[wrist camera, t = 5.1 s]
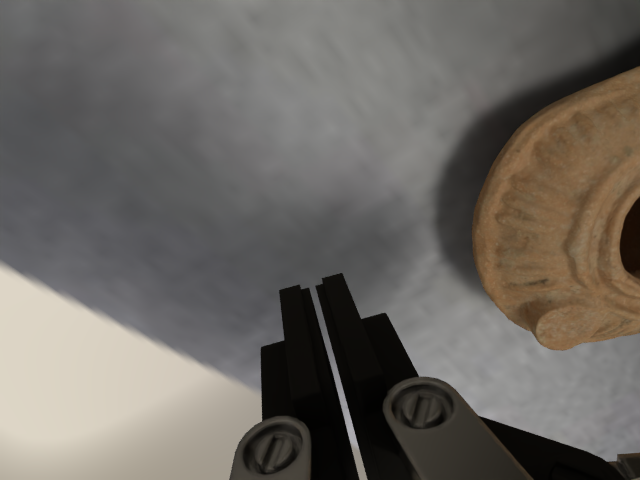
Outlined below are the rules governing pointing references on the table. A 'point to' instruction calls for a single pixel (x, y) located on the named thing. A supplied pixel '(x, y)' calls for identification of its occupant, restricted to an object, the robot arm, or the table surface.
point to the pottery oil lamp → (567, 218)
